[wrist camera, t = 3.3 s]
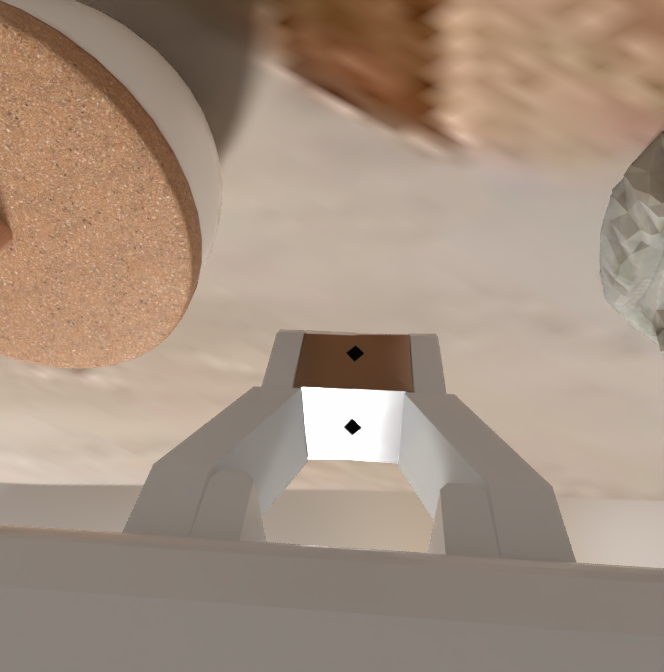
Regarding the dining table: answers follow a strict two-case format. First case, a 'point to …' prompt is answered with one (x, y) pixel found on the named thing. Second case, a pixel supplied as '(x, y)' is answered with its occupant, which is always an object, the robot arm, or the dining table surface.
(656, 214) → the ceramic cottage
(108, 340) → the lidded jar
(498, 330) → the dining table surface
